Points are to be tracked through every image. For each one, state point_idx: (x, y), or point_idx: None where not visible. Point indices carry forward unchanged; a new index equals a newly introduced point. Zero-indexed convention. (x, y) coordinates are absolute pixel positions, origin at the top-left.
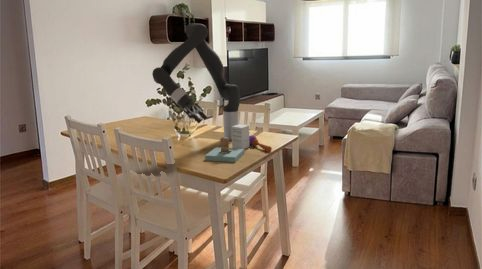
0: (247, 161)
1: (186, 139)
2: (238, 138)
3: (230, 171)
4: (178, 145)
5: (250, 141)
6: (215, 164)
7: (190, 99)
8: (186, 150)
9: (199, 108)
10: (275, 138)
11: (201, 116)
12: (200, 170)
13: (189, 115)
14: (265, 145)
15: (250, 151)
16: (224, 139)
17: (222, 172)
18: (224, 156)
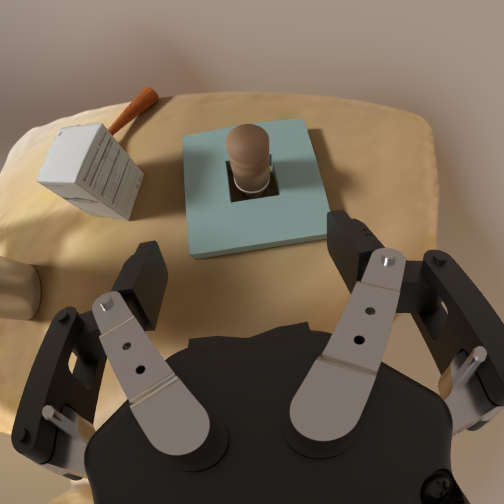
0: (276, 104)
1: None
2: (119, 168)
3: (383, 117)
4: None
5: None
6: (356, 177)
7: None
8: None
9: (114, 330)
10: (26, 163)
11: (157, 308)
12: (425, 196)
13: (436, 319)
14: (134, 101)
15: (157, 142)
16: (266, 134)
17: (401, 132)
18: (312, 153)
